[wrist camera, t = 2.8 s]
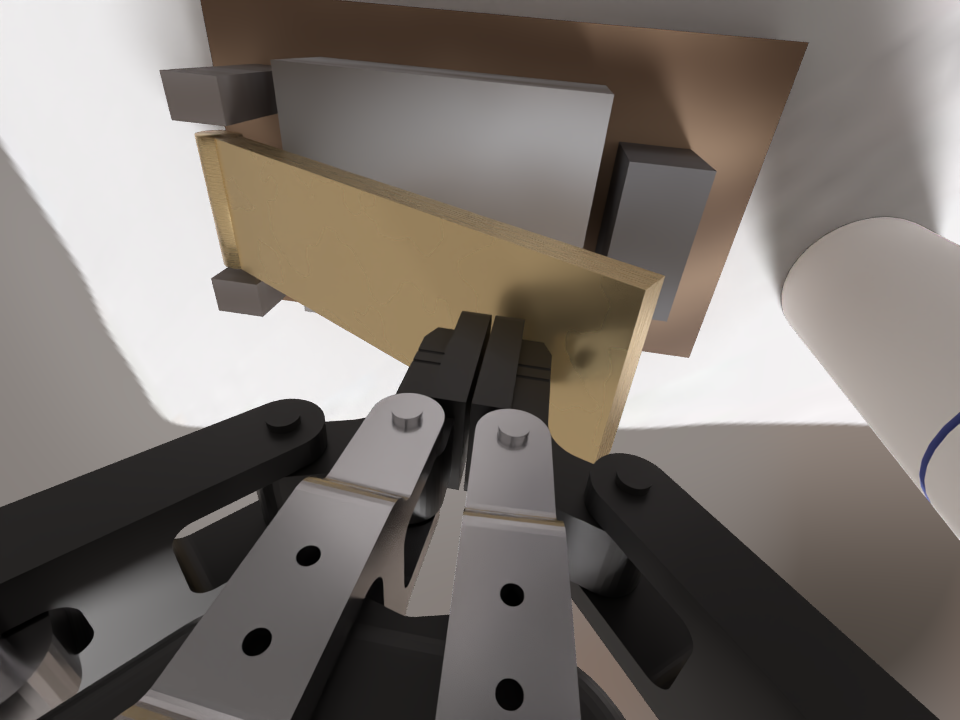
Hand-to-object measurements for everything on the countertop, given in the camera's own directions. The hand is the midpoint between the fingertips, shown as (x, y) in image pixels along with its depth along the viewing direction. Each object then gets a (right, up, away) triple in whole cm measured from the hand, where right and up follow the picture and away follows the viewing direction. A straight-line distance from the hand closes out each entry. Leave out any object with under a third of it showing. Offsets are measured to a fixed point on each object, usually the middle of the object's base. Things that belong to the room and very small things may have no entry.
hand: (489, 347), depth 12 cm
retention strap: (-3, +3, +4) cm, 6 cm away
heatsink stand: (0, +9, +13) cm, 16 cm away
